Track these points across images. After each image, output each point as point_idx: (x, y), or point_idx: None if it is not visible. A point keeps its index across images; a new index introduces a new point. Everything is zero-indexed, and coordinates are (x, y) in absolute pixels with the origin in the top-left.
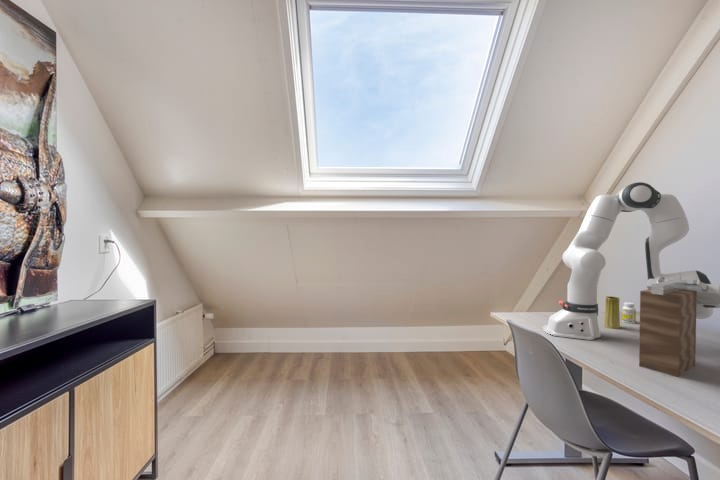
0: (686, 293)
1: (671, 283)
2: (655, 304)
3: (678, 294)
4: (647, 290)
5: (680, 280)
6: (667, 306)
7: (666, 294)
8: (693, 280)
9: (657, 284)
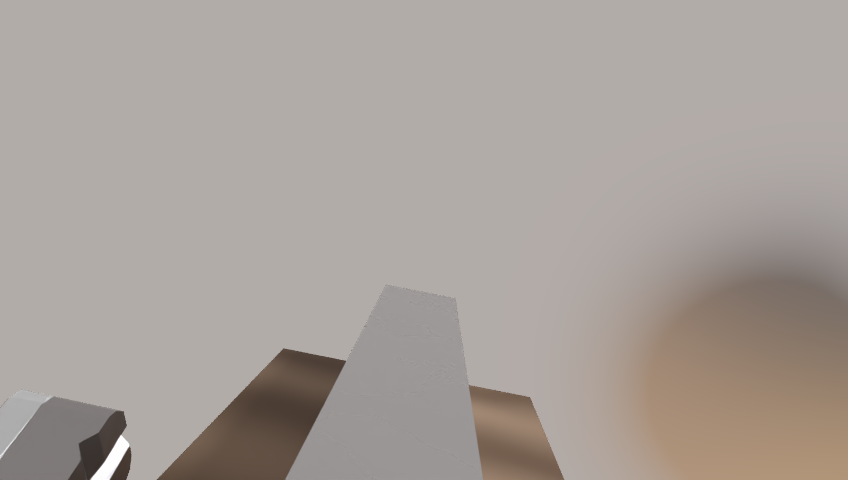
0: (235, 412)
1: (371, 322)
2: None
3: (294, 376)
4: (521, 426)
5: (334, 470)
6: None
7: None
8: (123, 413)
9: (430, 300)
